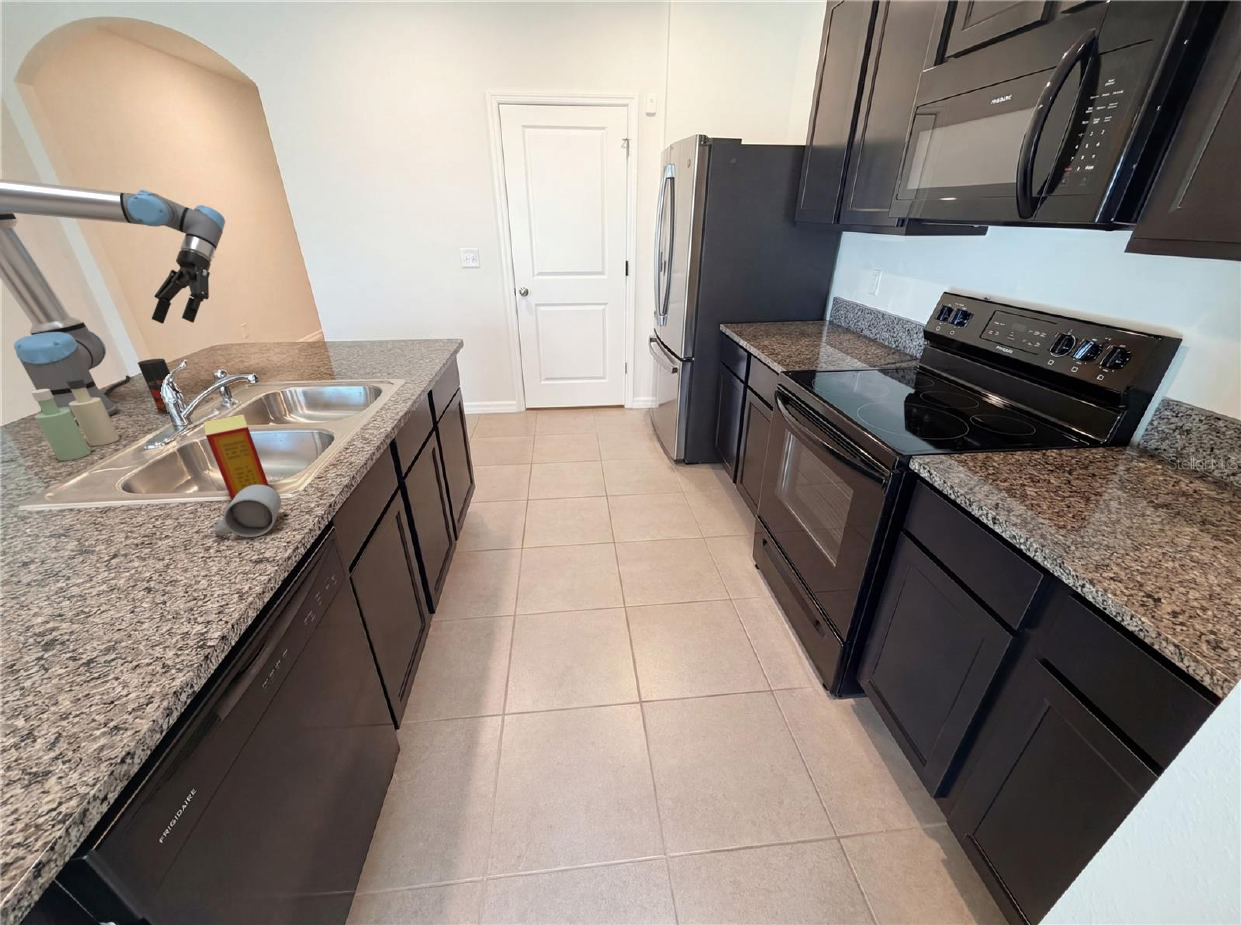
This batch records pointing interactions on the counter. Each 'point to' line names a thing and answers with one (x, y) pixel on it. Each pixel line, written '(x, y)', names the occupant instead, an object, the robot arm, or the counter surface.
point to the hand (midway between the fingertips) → (172, 320)
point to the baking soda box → (235, 453)
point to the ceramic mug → (250, 512)
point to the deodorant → (155, 379)
